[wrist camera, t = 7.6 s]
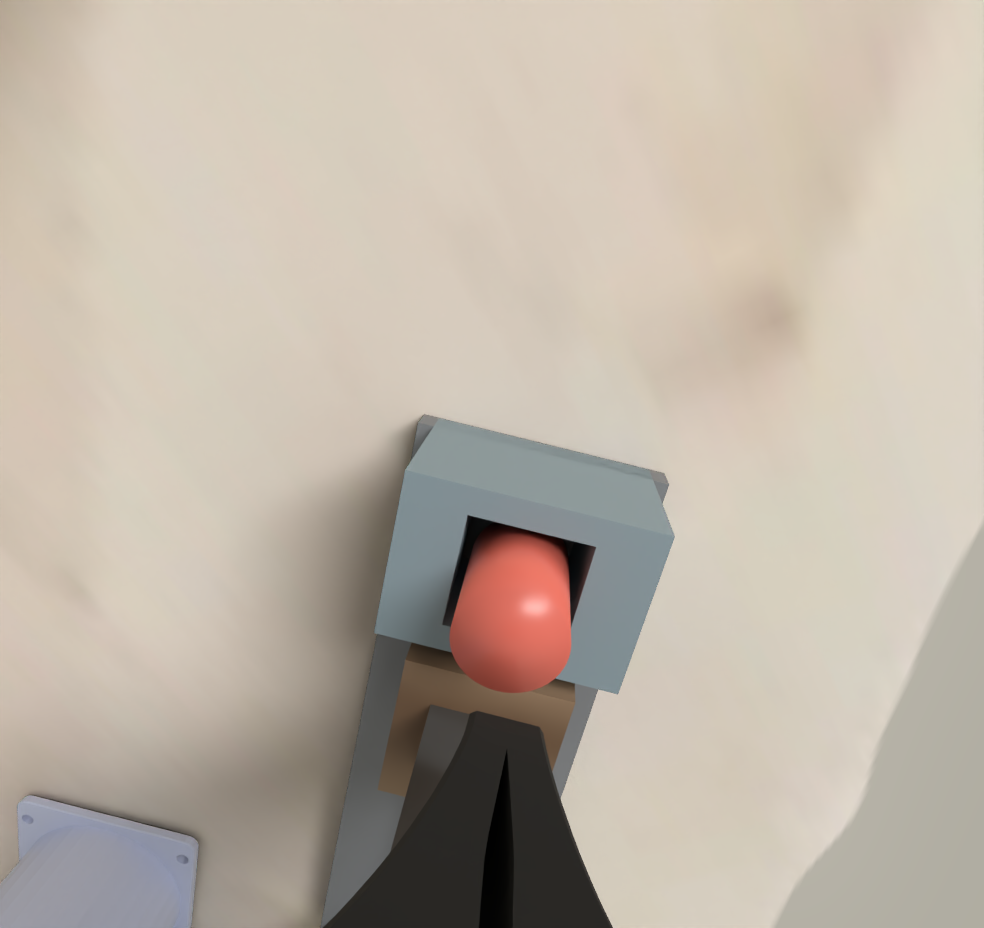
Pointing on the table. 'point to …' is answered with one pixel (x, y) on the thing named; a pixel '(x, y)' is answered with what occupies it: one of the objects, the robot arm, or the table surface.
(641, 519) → the rail bed
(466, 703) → the carriage
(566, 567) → the plunger
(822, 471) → the table surface
